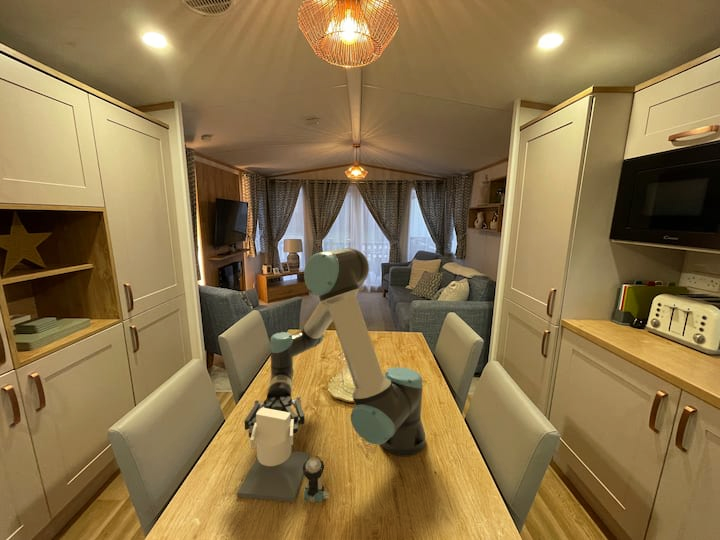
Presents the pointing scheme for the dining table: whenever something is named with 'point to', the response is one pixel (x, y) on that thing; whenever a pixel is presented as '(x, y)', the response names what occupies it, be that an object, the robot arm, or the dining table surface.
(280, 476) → the slate mat
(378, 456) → the dining table surface
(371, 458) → the dining table surface
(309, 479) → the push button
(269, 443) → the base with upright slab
